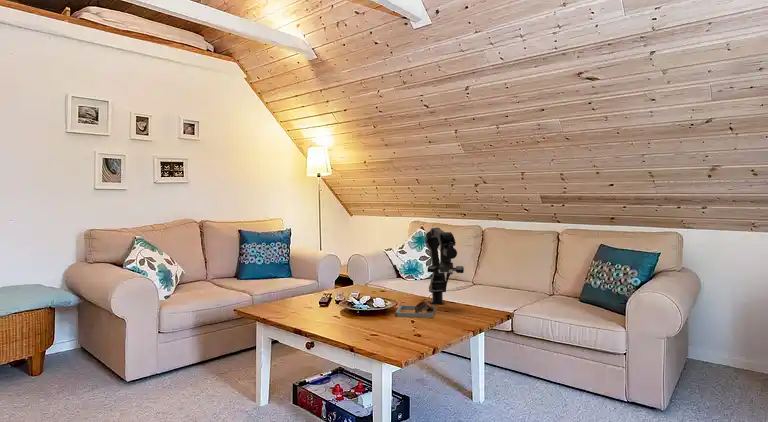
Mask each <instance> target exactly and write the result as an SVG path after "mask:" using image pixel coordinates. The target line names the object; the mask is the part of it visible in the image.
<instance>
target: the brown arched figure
mask: <svg viewBox="0 0 768 422" xmlns="http://www.w3.org/2000/svg"><path fill="white" fill-rule="evenodd" d="M431 302H432V301H429V300H428V301H427V300H423V301H420V302H418V303H417V304H416V305H415V306H416V307H417V308H416V307H414V309H415V310H414V313H423V310H422V309H426V310H425V311H426V313H433V314H434V316H435V315H436V313H435V311H434V310H433V307H432V305H433V304H431Z"/></svg>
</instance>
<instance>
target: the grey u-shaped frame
mask: <svg viewBox="0 0 768 422" xmlns="http://www.w3.org/2000/svg"><path fill="white" fill-rule="evenodd" d="M414 307H416V305H411V304H410V305H408V304H405V305H404V304H403V305H402V304H400V305H399V306H398V308H396V310H395V312H394V317H395V318H396V317H397V318H399V317H400V318H426V319H427V318H428V319H434V317H435V315H434V314H433V313H431V312H419V313H415V312H404V311H403V310H405V311H406V310H408V311H411V310H412V311H415V309H414ZM432 307H433V310H434V312H435V311H437V306H436V305H433V306H432ZM416 308H417V307H416ZM402 311H403V312H402ZM422 311H427V310H426V309H422Z"/></svg>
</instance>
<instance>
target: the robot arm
mask: <svg viewBox="0 0 768 422" xmlns="http://www.w3.org/2000/svg"><path fill="white" fill-rule="evenodd" d="M429 230H430V231H427V233H426V234H425V237H424V244H425V246H426V248H427V249H428V250H429V255H430V262H431V263H430V264H429V265H428V266H427V273H432V276H431V278H430V284H429V285H428V291H429V293H431V294H432V296H431V298H432V299H431V301H430V302H431V304H432V305H443V304H444V300H443V296H444V295H443V293H446V292H447V285H448V282H449V279H450V277H451V275H453V274H454V272H456V274H464V272H465V266H463V265H456V266H455V267H454V262H452V259H455V258H456V257H457V256H458V251H457V249H456V248H454V247H455V246H456V239H455V237H454V234H453V233H452V231H445V230H443V229H441V228H439V227H432V228H430V229H429ZM439 248H440V249H439ZM438 249H439V250H438Z"/></svg>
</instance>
